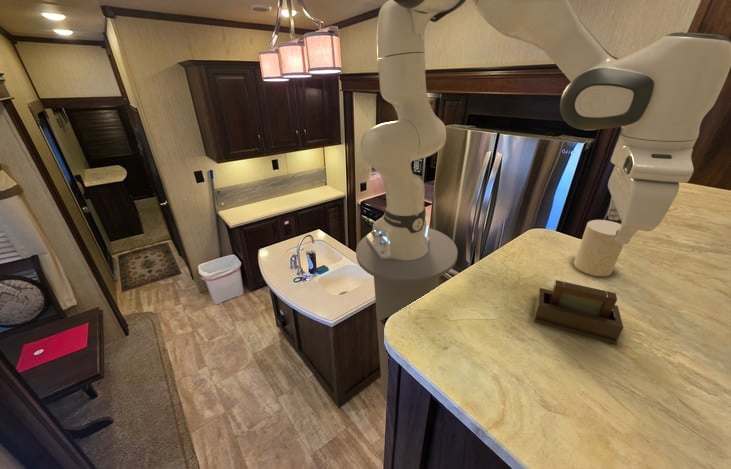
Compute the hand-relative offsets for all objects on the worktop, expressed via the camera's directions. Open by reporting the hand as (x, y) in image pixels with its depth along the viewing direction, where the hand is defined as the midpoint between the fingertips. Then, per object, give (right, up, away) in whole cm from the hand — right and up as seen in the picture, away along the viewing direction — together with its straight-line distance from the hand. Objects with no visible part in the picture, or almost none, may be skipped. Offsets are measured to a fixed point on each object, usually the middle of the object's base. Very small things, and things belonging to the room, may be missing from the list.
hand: (616, 229), depth 53 cm
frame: (-2, -19, +8) cm, 21 cm away
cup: (+14, -10, +24) cm, 29 cm away
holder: (-2, -19, +9) cm, 21 cm away
